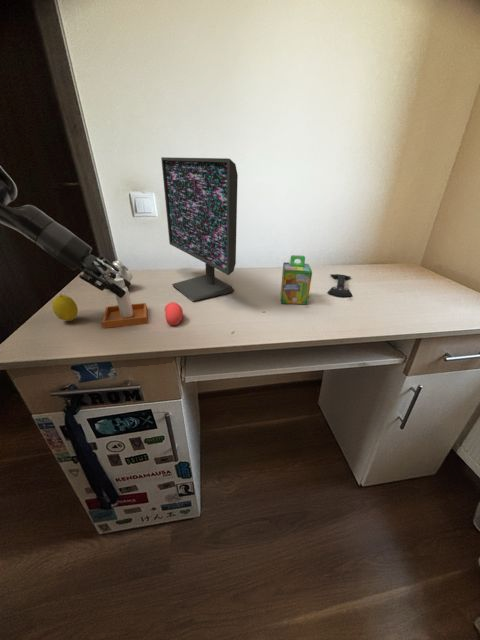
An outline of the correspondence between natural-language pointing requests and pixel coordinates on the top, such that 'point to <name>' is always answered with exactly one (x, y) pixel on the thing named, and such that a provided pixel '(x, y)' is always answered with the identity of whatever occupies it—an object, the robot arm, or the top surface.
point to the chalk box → (296, 281)
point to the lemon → (65, 307)
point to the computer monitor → (202, 218)
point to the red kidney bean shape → (173, 313)
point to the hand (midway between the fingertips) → (126, 290)
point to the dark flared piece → (340, 286)
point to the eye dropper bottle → (123, 299)
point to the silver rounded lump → (122, 271)
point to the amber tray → (115, 320)
